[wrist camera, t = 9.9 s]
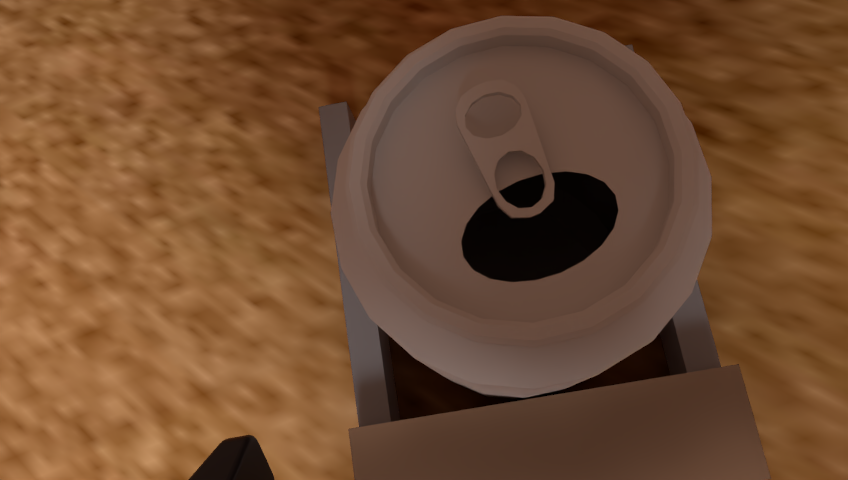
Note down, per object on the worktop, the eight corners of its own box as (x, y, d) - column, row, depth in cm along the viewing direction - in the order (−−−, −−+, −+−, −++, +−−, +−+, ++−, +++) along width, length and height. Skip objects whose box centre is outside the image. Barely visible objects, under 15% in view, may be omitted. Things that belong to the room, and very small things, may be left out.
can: (451, 435, 22) (393, 458, 11) (374, 234, 24) (254, 70, 13) (661, 349, 22) (833, 278, 10) (565, 155, 24) (621, -83, 13)
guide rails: (701, 372, 22) (721, 368, 20) (371, 426, 22) (359, 427, 21) (622, 73, 25) (632, 44, 23) (332, 130, 25) (318, 106, 23)
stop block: (727, 468, 21) (771, 478, 18) (383, 522, 22) (362, 541, 18) (701, 372, 22) (738, 364, 18) (371, 427, 22) (348, 429, 19)
